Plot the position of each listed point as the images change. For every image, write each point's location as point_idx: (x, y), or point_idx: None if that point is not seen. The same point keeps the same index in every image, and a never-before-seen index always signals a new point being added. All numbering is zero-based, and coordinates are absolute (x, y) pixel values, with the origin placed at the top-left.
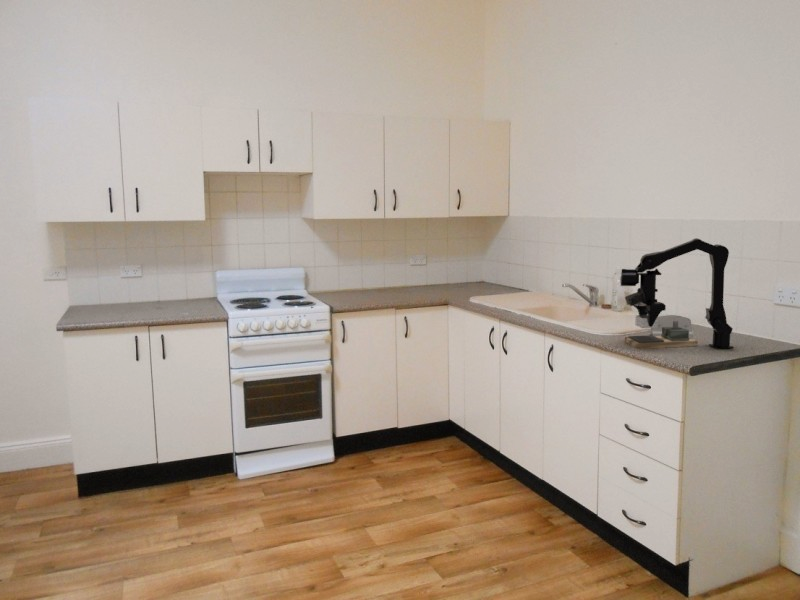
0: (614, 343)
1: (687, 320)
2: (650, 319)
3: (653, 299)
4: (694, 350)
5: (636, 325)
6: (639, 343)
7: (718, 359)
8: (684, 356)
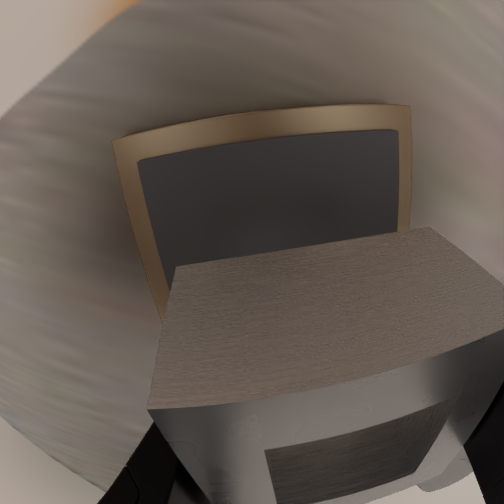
0: (345, 4)
1: (427, 483)
2: (135, 466)
3: None
4: (132, 422)
5: (396, 232)
6: (126, 157)
7: (15, 420)
8: (3, 349)
